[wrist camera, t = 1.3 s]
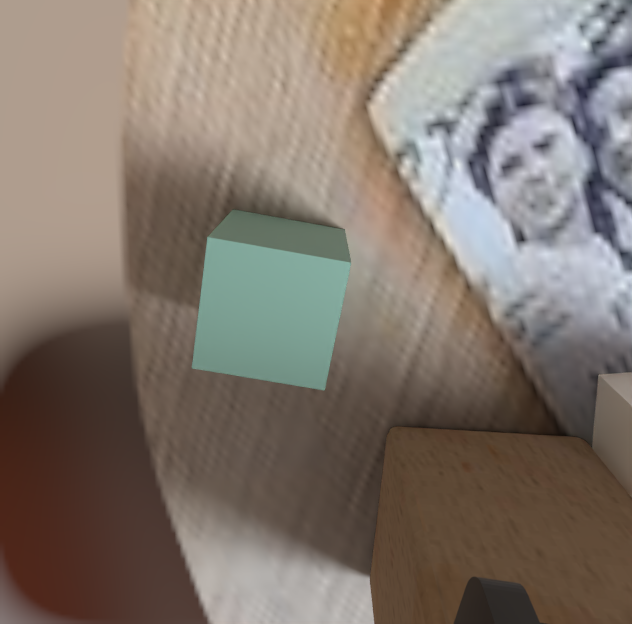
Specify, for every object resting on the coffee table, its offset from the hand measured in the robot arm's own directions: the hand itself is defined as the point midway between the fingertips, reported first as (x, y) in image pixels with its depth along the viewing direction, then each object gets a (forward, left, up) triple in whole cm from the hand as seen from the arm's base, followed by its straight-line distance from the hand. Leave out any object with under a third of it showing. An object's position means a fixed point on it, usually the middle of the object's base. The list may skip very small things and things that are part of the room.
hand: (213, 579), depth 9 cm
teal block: (0, 0, -18) cm, 18 cm away
